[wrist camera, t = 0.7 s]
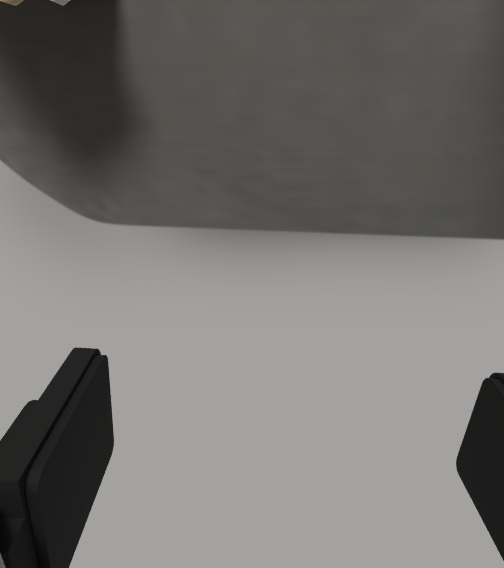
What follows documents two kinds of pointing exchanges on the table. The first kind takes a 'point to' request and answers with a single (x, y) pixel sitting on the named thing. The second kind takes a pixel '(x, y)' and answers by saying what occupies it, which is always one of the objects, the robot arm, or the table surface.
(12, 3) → the beige wooden block
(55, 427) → the robot arm
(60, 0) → the box
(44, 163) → the table surface
